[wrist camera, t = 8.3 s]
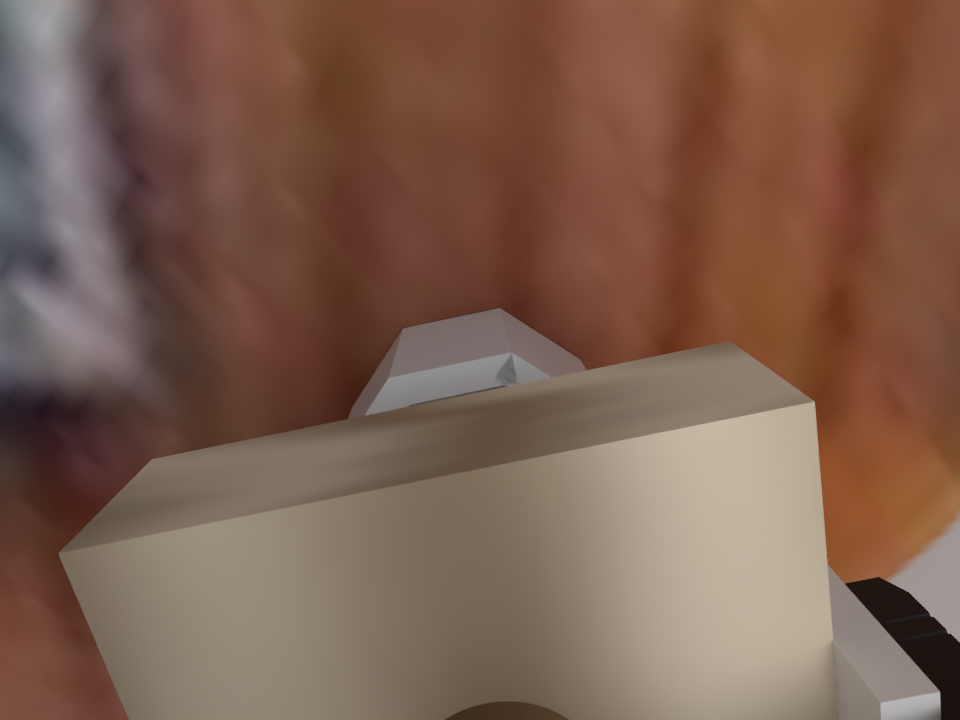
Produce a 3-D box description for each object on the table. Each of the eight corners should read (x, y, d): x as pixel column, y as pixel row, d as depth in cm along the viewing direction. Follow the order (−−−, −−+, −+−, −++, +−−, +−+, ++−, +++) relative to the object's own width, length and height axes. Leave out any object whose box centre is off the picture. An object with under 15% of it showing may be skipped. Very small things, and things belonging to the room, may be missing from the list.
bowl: (391, 548, 25) (376, 644, 20) (334, 342, 23) (302, 395, 18) (605, 504, 25) (641, 592, 20) (568, 293, 22) (599, 333, 18)
